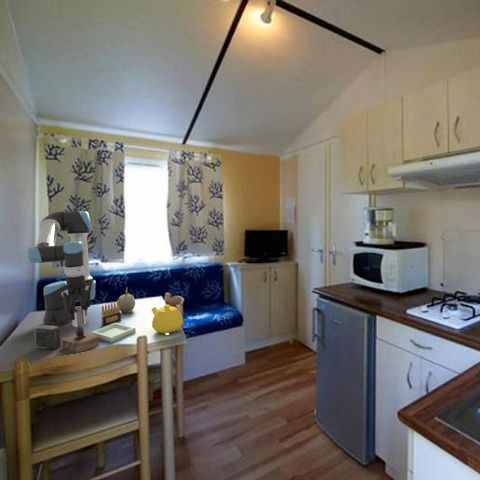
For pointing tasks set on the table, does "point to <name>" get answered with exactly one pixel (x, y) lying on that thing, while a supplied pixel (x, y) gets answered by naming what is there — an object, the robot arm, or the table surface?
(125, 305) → the fruit
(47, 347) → the camera
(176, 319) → the teapot
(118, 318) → the ammunition clip
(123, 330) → the tray
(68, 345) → the slotted wooden block
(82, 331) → the pin
